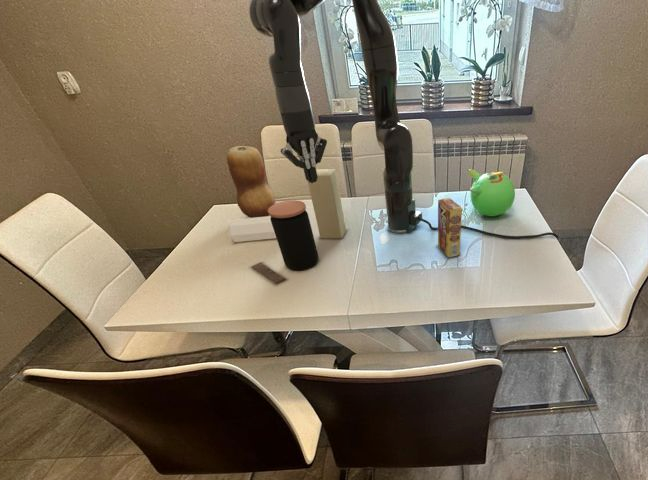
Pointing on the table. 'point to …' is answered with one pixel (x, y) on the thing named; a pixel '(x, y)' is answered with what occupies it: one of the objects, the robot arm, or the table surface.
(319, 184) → the beige tall block
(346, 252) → the table surface
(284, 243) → the coffee jar
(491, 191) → the toy bird
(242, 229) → the crystal
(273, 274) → the walnut ruler
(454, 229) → the candy box
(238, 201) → the butternut squash
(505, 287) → the table surface
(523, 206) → the table surface
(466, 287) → the table surface
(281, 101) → the robot arm
